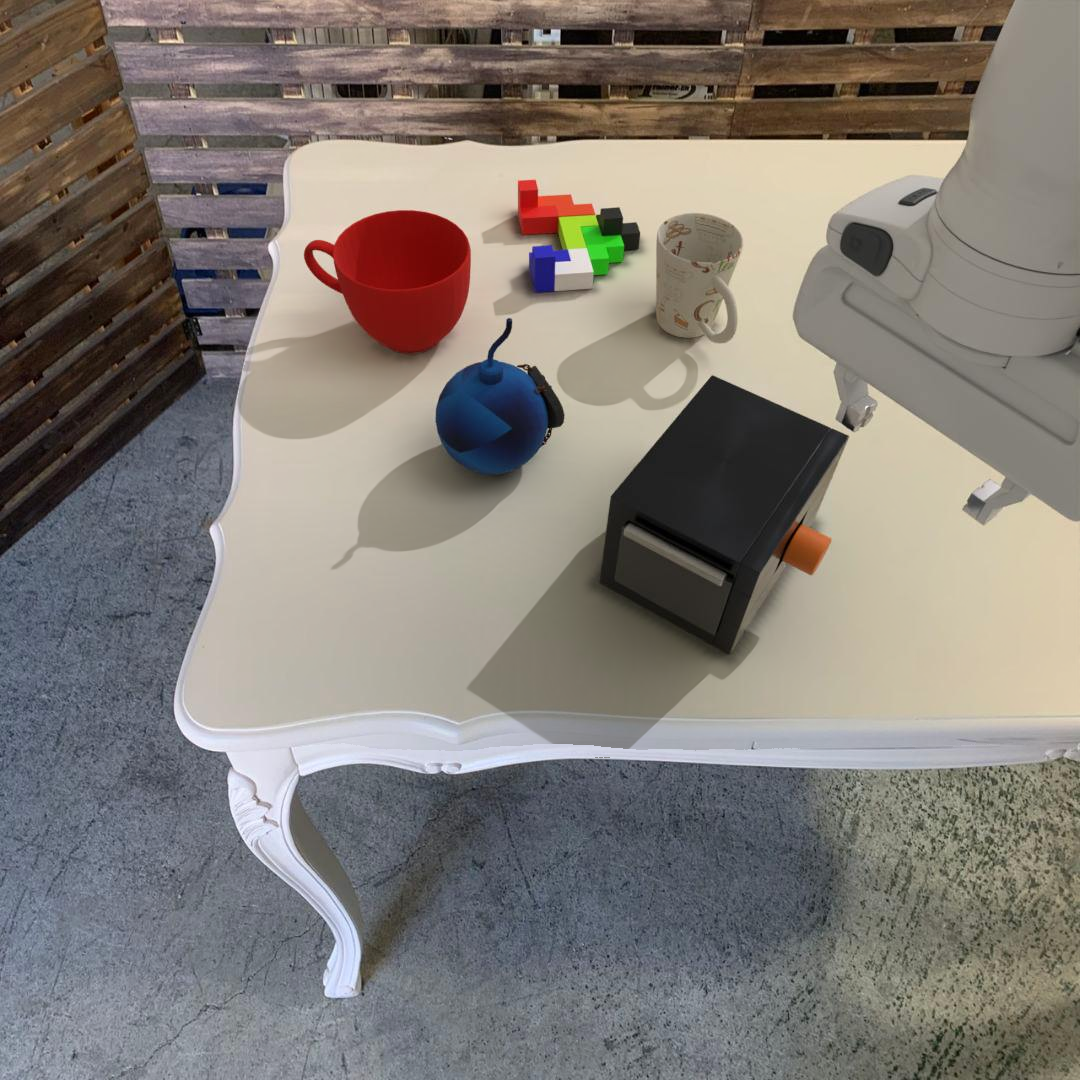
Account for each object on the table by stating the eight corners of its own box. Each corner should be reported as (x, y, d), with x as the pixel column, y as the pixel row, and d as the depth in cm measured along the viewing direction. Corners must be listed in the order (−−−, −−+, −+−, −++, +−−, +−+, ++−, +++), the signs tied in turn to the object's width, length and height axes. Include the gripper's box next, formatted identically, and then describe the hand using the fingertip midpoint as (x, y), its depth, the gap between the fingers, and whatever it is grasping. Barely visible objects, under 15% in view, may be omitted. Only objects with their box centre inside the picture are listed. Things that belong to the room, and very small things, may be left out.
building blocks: (650, 284, 98) (655, 250, 95) (534, 293, 97) (534, 258, 94) (623, 207, 107) (627, 174, 104) (516, 214, 106) (517, 180, 103)
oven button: (824, 556, 71) (836, 531, 68) (808, 583, 69) (819, 558, 66) (795, 541, 71) (805, 516, 69) (778, 568, 70) (788, 543, 67)
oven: (812, 524, 78) (849, 435, 70) (722, 666, 69) (752, 585, 61) (691, 465, 82) (712, 374, 73) (591, 592, 73) (601, 506, 65)
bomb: (575, 471, 81) (586, 342, 69) (465, 511, 78) (456, 382, 66) (528, 403, 87) (530, 271, 75) (423, 437, 84) (408, 306, 72)
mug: (696, 287, 98) (713, 204, 90) (762, 357, 91) (786, 274, 84) (630, 307, 96) (641, 224, 88) (693, 380, 89) (711, 298, 81)
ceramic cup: (342, 277, 98) (327, 193, 90) (490, 306, 95) (488, 222, 88) (291, 352, 90) (269, 268, 82) (450, 386, 88) (443, 302, 80)
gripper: (1254, 357, 40) (1098, 548, 51) (883, 163, 50) (820, 358, 60) (1180, 419, 37) (1034, 605, 48) (806, 202, 47) (755, 397, 58)
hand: (912, 466), depth 54 cm, fingers open, 8 cm apart
